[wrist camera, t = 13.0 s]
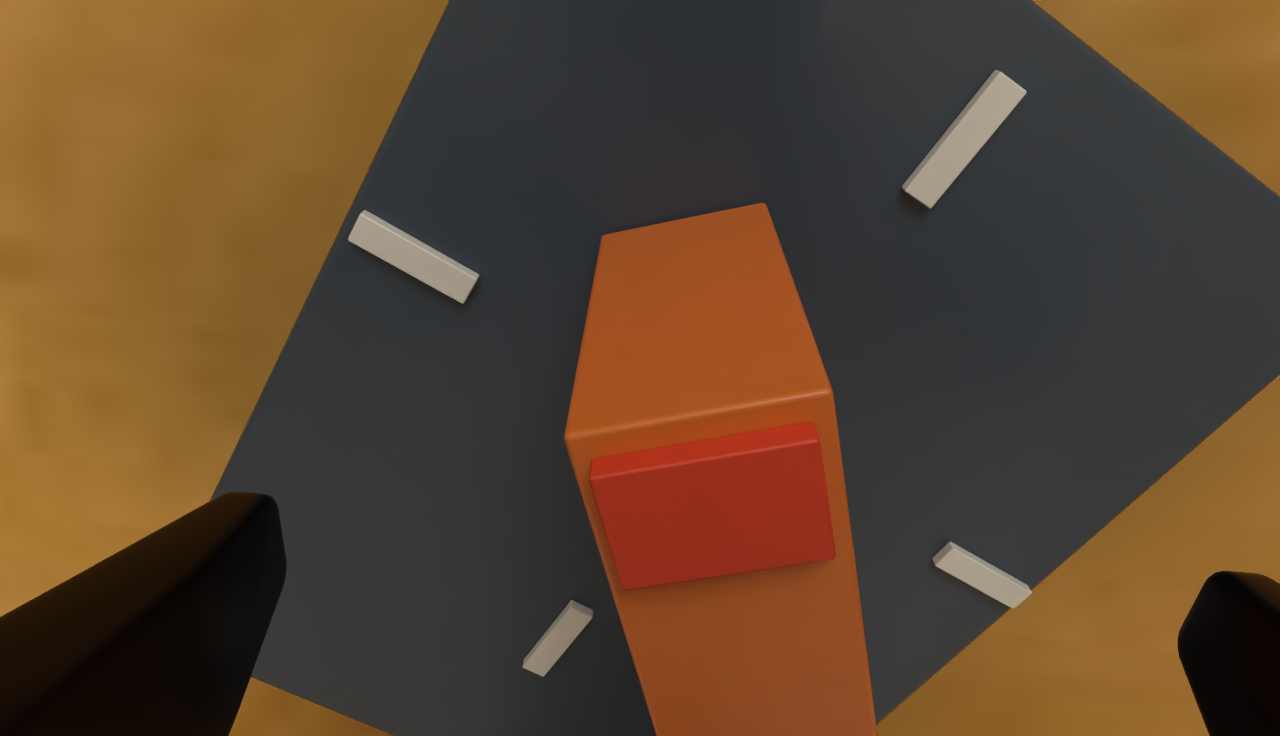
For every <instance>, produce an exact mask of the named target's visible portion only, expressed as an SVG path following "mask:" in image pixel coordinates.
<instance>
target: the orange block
mask: <svg viewBox="0 0 1280 736" xmlns="http://www.w3.org/2000/svg"><path fill="white" fill-rule="evenodd" d="M564 441H565V445H566V448H567V451H568V454H569V457H570V461H571V464H572V467H573V470H574V473H575V477H576V480H577V483H578V486H579V489H580V493H581V496H582V499H583V502H584V505H585V509H586V512H587V515H588V518H589V521H590V525H591V528H592V531H593V534H594V537H595V541H596V544H597V547H598V550H599V553H600V557H601V560H602V563H603V566H604V569H605V573H606V576H607V579H608V582H609V585H610V589H611V592H612V595H613V598H614V601H615V605H616V608H617V611H618V614H619V617H620V621H621V624H622V627H623V630H624V633H625V637H626V640H627V643H628V646H629V649H630V653H631V656H632V659H633V662H634V665H635V669H636V672H637V675H638V678H639V681H640V685H641V688H642V691H643V694H644V697H645V701H646V704H647V707H648V710H649V713H650V717H651V720H652V723H653V726H654V730H655V733H656V736H878V733H877V725H876V717H875V709H874V702H873V694H872V686H871V679H870V671H869V663H868V655H867V648H866V640H865V632H864V625H863V617H862V609H861V602H860V594H859V586H858V578H857V571H856V563H855V555H854V548H853V540H852V532H851V524H850V517H849V509H848V501H847V494H846V486H845V478H844V470H843V463H842V455H841V447H840V440H839V432H838V424H837V416H836V409H835V401H834V393H833V390H832V387H831V384H830V381H829V378H828V376H827V373H826V370H825V367H824V364H823V362H822V359H821V356H820V353H819V350H818V348H817V345H816V342H815V339H814V336H813V334H812V331H811V328H810V325H809V322H808V319H807V317H806V314H805V311H804V308H803V305H802V303H801V300H800V297H799V294H798V291H797V289H796V286H795V283H794V280H793V277H792V275H791V272H790V269H789V266H788V263H787V261H786V258H785V255H784V252H783V249H782V247H781V244H780V241H779V238H778V235H777V233H776V230H775V227H774V224H773V221H772V219H771V216H770V213H769V210H768V207H767V205H766V204H765V203H757V204H753V205H748V206H743V207H738V208H733V209H728V210H723V211H718V212H713V213H708V214H704V215H699V216H694V217H689V218H684V219H679V220H674V221H669V222H664V223H659V224H654V225H650V226H645V227H640V228H635V229H630V230H625V231H620V232H615V233H610V234H605V235H603V236H602V237H601V242H600V247H599V253H598V258H597V263H596V269H595V274H594V279H593V285H592V290H591V295H590V301H589V306H588V311H587V317H586V322H585V327H584V333H583V338H582V343H581V349H580V354H579V359H578V365H577V370H576V375H575V381H574V386H573V391H572V397H571V402H570V407H569V413H568V418H567V423H566V429H565V434H564Z"/></svg>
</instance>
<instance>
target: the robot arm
mask: <svg viewBox="0 0 1280 736" xmlns="http://www.w3.org/2000/svg"><path fill="white" fill-rule="evenodd" d="M286 568H287V562H286V554H285V548H284V541H283V535H282V528H281V521H280V515H279V509H278V505H277V503H276V501H275V499H274V498H273V497H271V496H270V495H268V494H259V493H247V492H228V493H225V494H223V495H221V496H219V497H217V498H215V499H213V500H212V501H210V502H208V503H206V504H204V505H203V506H201V507H199V508H197V509H195V510H193V511H192V512H190V513H188V514H186V515H184V516H183V517H181V518H179V519H177V520H175V521H174V522H172V523H170V524H168V525H166V526H164V527H163V528H161V529H159V530H157V531H155V532H154V533H152V534H150V535H148V536H146V537H145V538H143V539H141V540H139V541H137V542H136V543H134V544H132V545H130V546H128V547H126V548H125V549H123V550H121V551H119V552H117V553H116V554H114V555H112V556H110V557H108V558H107V559H105V560H103V561H101V562H99V563H97V564H96V565H94V566H92V567H90V568H88V569H87V570H85V571H83V572H81V573H79V574H78V575H76V576H74V577H72V578H70V579H69V580H67V581H65V582H63V583H61V584H59V585H58V586H56V587H54V588H52V589H50V590H49V591H47V592H45V593H43V594H41V595H40V596H38V597H36V598H34V599H32V600H30V601H29V602H27V603H25V604H23V605H21V606H20V607H18V608H16V609H14V610H12V611H11V612H9V613H7V614H5V615H3V616H2V617H0V736H229V733H230V731H231V728H232V726H233V723H234V721H235V718H236V715H237V713H238V710H239V708H240V705H241V702H242V699H243V697H244V694H245V691H246V688H247V686H248V683H249V680H250V677H251V674H252V672H253V669H254V666H255V663H256V661H257V658H258V655H259V652H260V650H261V647H262V644H263V641H264V639H265V636H266V633H267V630H268V628H269V625H270V622H271V619H272V616H273V614H274V611H275V608H276V605H277V603H278V600H279V597H280V594H281V592H282V589H283V586H284V582H285V577H286ZM1178 652H1179V657H1180V660H1181V663H1182V665H1183V668H1184V671H1185V673H1186V676H1187V678H1188V681H1189V684H1190V686H1191V689H1192V691H1193V694H1194V697H1195V699H1196V702H1197V704H1198V707H1199V709H1200V712H1201V715H1202V717H1203V720H1204V722H1205V725H1206V728H1207V730H1208V733H1209V735H1210V736H1280V584H1279V583H1278V582H1276V581H1274V580H1272V579H1271V578H1268V577H1266V576H1264V575H1260V574H1255V573H1244V572H1232V571H1220V572H1216V573H1214V574H1213V575H1211V576H1210V577H1209V578H1208V579H1207V580H1206V582H1205V583H1204V585H1203V587H1202V589H1201V591H1200V593H1199V594H1198V596H1197V598H1196V600H1195V602H1194V604H1193V606H1192V608H1191V610H1190V611H1189V613H1188V615H1187V617H1186V619H1185V621H1184V623H1183V625H1182V627H1181V629H1180V631H1179V635H1178Z"/></svg>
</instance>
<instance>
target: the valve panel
mask: <svg viewBox="0 0 1280 736" xmlns="http://www.w3.org/2000/svg"><path fill="white" fill-rule="evenodd" d="M757 203H765V204H766V205H767V207H768V210H769V213H770V216H771V219H772V221H773V224H774V227H775V230H776V233H777V235H778V238H779V241H780V244H781V247H782V249H783V252H784V255H785V258H786V261H787V263H788V266H789V269H790V272H791V275H792V277H793V280H794V283H795V286H796V289H797V291H798V294H799V297H800V300H801V303H802V305H803V308H804V311H805V314H806V317H807V319H808V322H809V325H810V328H811V331H812V334H813V336H814V339H815V342H816V345H817V348H818V350H819V353H820V356H821V359H822V362H823V364H824V367H825V370H826V373H827V376H828V378H829V381H830V384H831V387H832V390H833V393H834V401H835V409H836V416H837V424H838V432H839V440H840V447H841V455H842V463H843V470H844V478H845V486H846V494H847V501H848V509H849V517H850V524H851V532H852V540H853V548H854V555H855V563H856V571H857V578H858V586H859V594H860V602H861V609H862V617H863V625H864V632H865V640H866V648H867V655H868V663H869V671H870V679H871V686H872V694H873V702H874V709H875V717H876V725H877V724H878V723H879V722H880V721H881V720H882V719H884V718H885V717H886V716H887V715H888V714H889V713H890V712H892V711H893V710H894V709H895V708H896V707H897V706H898V705H900V704H901V703H902V702H903V701H904V700H905V699H907V698H908V697H909V696H910V695H911V694H912V693H913V692H915V691H916V690H917V689H918V688H919V687H920V686H922V685H923V684H924V683H925V682H926V681H927V680H928V679H930V678H931V677H932V676H933V675H934V674H935V673H936V672H938V671H939V670H940V669H941V668H942V667H943V666H945V665H946V664H947V663H948V662H949V661H950V660H951V659H953V658H954V657H955V656H956V655H957V654H958V653H959V652H961V651H962V650H963V649H964V648H965V647H966V646H968V645H969V644H970V643H971V642H972V641H973V640H974V639H976V638H977V637H978V636H979V635H980V634H981V633H983V632H984V631H985V630H986V629H987V628H988V627H989V626H991V625H992V624H993V623H994V622H995V621H996V620H997V619H999V618H1000V617H1001V616H1002V615H1003V614H1004V613H1006V612H1007V611H1008V610H1009V609H1010V608H1012V609H1015V608H1016V607H1017V606H1018V605H1019V604H1020V603H1022V602H1023V601H1024V600H1025V599H1026V598H1027V597H1028V596H1030V595H1031V594H1032V592H1031V590H1032V589H1033V588H1034V587H1035V586H1037V585H1038V584H1039V583H1040V582H1041V581H1042V580H1044V579H1045V578H1046V577H1047V576H1048V575H1049V574H1050V573H1052V572H1053V571H1054V570H1055V569H1056V568H1057V567H1058V566H1060V565H1061V564H1062V563H1063V562H1064V561H1065V560H1067V559H1068V558H1069V557H1070V556H1071V555H1072V554H1073V553H1075V552H1076V551H1077V550H1078V549H1079V548H1080V547H1082V546H1083V545H1084V544H1085V543H1086V542H1087V541H1088V540H1090V539H1091V538H1092V537H1093V536H1094V535H1095V534H1096V533H1098V532H1099V531H1100V530H1101V529H1102V528H1103V527H1105V526H1106V525H1107V524H1108V523H1109V522H1110V521H1111V520H1113V519H1114V518H1115V517H1116V516H1117V515H1118V514H1119V513H1121V512H1122V511H1123V510H1124V509H1125V508H1126V507H1128V506H1129V505H1130V504H1131V503H1132V502H1133V501H1134V500H1136V499H1137V498H1138V497H1139V496H1140V495H1141V494H1143V493H1144V492H1145V491H1146V490H1147V489H1148V488H1149V487H1151V486H1152V485H1153V484H1154V483H1155V482H1156V481H1157V480H1159V479H1160V478H1161V477H1162V476H1163V475H1164V474H1166V473H1167V472H1168V471H1169V470H1170V469H1171V468H1172V467H1174V466H1175V465H1176V464H1177V463H1178V462H1179V461H1181V460H1182V459H1183V458H1184V457H1185V456H1186V455H1187V454H1189V453H1190V452H1191V451H1192V450H1193V449H1194V448H1195V447H1197V446H1198V445H1199V444H1200V443H1201V442H1202V441H1204V440H1205V439H1206V438H1207V437H1208V436H1209V435H1210V434H1212V433H1213V432H1214V431H1215V430H1216V429H1217V428H1218V427H1220V426H1221V425H1222V424H1223V423H1224V422H1225V421H1227V420H1228V419H1229V418H1230V417H1231V416H1232V415H1233V414H1235V413H1236V412H1237V411H1238V410H1239V409H1240V408H1242V407H1243V406H1244V405H1245V404H1246V403H1247V402H1248V401H1250V400H1251V399H1252V398H1253V397H1254V396H1255V395H1256V394H1258V393H1259V392H1260V391H1261V390H1262V389H1263V388H1265V387H1266V386H1267V385H1268V384H1269V383H1270V382H1271V381H1273V380H1274V379H1275V378H1276V377H1277V376H1278V375H1279V374H1280V196H1278V195H1277V194H1276V193H1275V192H1273V191H1272V190H1271V189H1270V188H1268V187H1267V186H1266V185H1265V184H1263V183H1262V182H1261V181H1259V180H1258V179H1257V178H1256V177H1254V176H1253V175H1252V174H1251V173H1249V172H1248V171H1247V170H1246V169H1244V168H1243V167H1242V166H1240V165H1239V164H1238V163H1237V162H1235V161H1234V160H1233V159H1232V158H1230V157H1229V156H1228V155H1227V154H1225V153H1224V152H1223V151H1221V150H1220V149H1219V148H1218V147H1216V146H1215V145H1214V144H1213V143H1211V142H1210V141H1209V140H1208V139H1206V138H1205V137H1204V136H1202V135H1201V134H1200V133H1199V132H1197V131H1196V130H1195V129H1194V128H1192V127H1191V126H1190V125H1189V124H1187V123H1186V122H1185V121H1183V120H1182V119H1181V118H1180V117H1178V116H1177V115H1176V114H1175V113H1173V112H1172V111H1171V110H1170V109H1168V108H1167V107H1166V106H1164V105H1163V104H1162V103H1161V102H1159V101H1158V100H1157V99H1156V98H1154V97H1153V96H1152V95H1151V94H1149V93H1148V92H1147V91H1145V90H1144V89H1143V88H1142V87H1140V86H1139V85H1138V84H1137V83H1135V82H1134V81H1133V80H1132V79H1130V78H1129V77H1128V76H1126V75H1125V74H1124V73H1123V72H1121V71H1120V70H1119V69H1118V68H1116V67H1115V66H1114V65H1113V64H1111V63H1110V62H1109V61H1107V60H1106V59H1105V58H1104V57H1102V56H1101V55H1100V54H1099V53H1097V52H1096V51H1095V50H1094V49H1092V48H1091V47H1090V46H1088V45H1087V44H1086V43H1085V42H1083V41H1082V40H1081V39H1080V38H1078V37H1077V36H1076V35H1075V34H1073V33H1072V32H1071V31H1069V30H1068V29H1067V28H1066V27H1064V26H1063V25H1062V24H1061V23H1059V22H1058V21H1057V20H1056V19H1054V18H1053V17H1052V16H1050V15H1049V14H1048V13H1047V12H1045V11H1044V10H1043V9H1042V8H1040V7H1039V6H1038V5H1037V4H1035V3H1034V2H1033V1H1031V0H449V2H448V4H447V6H446V9H445V11H444V13H443V15H442V17H441V19H440V21H439V23H438V25H437V27H436V29H435V32H434V34H433V36H432V38H431V40H430V42H429V44H428V46H427V48H426V50H425V52H424V55H423V57H422V59H421V61H420V63H419V65H418V67H417V69H416V71H415V73H414V75H413V78H412V80H411V82H410V84H409V86H408V88H407V90H406V92H405V94H404V96H403V98H402V101H401V103H400V105H399V107H398V109H397V111H396V113H395V115H394V117H393V119H392V121H391V124H390V126H389V128H388V130H387V132H386V134H385V136H384V138H383V140H382V142H381V144H380V147H379V149H378V151H377V153H376V155H375V157H374V159H373V161H372V163H371V165H370V167H369V169H368V172H367V174H366V176H365V178H364V180H363V182H362V184H361V186H360V188H359V190H358V192H357V195H356V197H355V199H354V201H353V203H352V205H351V207H350V209H349V211H348V213H347V215H346V218H345V220H344V222H343V224H342V226H341V228H340V230H339V232H338V234H337V236H336V238H335V241H334V243H333V245H332V247H331V249H330V251H329V253H328V255H327V257H326V259H325V261H324V264H323V266H322V268H321V270H320V272H319V274H318V276H317V278H316V280H315V282H314V284H313V287H312V289H311V291H310V293H309V295H308V297H307V299H306V301H305V303H304V305H303V307H302V309H301V312H300V314H299V316H298V318H297V320H296V322H295V324H294V326H293V328H292V330H291V332H290V335H289V337H288V339H287V341H286V343H285V345H284V347H283V349H282V351H281V353H280V355H279V358H278V360H277V362H276V364H275V366H274V368H273V370H272V372H271V374H270V376H269V378H268V381H267V383H266V385H265V387H264V389H263V391H262V393H261V395H260V397H259V399H258V401H257V404H256V406H255V408H254V410H253V412H252V414H251V416H250V418H249V420H248V422H247V424H246V427H245V429H244V431H243V433H242V435H241V437H240V439H239V441H238V443H237V445H236V447H235V449H234V452H233V454H232V456H231V458H230V460H229V462H228V464H227V466H226V468H225V470H224V472H223V475H222V477H221V479H220V481H219V483H218V485H217V487H216V489H215V491H214V493H213V495H212V498H211V500H210V501H212V500H213V499H215V498H217V497H219V496H221V495H223V494H225V493H228V492H247V493H259V494H268V495H270V496H271V497H273V498H274V499H275V501H276V503H277V505H278V509H279V515H280V521H281V528H282V535H283V541H284V548H285V554H286V562H287V568H286V577H285V582H284V586H283V589H282V592H281V594H280V597H279V600H278V603H277V605H276V608H275V611H274V614H273V616H272V619H271V622H270V625H269V628H268V630H267V633H266V636H265V639H264V641H263V644H262V647H261V650H260V652H259V655H258V658H257V661H256V663H255V666H254V669H253V672H252V674H251V677H253V678H255V679H258V680H260V681H262V682H265V683H267V684H270V685H272V686H275V687H277V688H279V689H282V690H284V691H287V692H289V693H292V694H294V695H297V696H299V697H301V698H304V699H306V700H309V701H311V702H314V703H316V704H318V705H321V706H323V707H326V708H328V709H331V710H333V711H335V712H338V713H340V714H343V715H345V716H348V717H350V718H353V719H355V720H357V721H360V722H362V723H365V724H367V725H370V726H372V727H374V728H377V729H379V730H382V731H384V732H387V733H389V734H392V735H394V736H656V733H655V730H654V726H653V723H652V720H651V717H650V713H649V710H648V707H647V704H646V701H645V697H644V694H643V691H642V688H641V685H640V681H639V678H638V675H637V672H636V669H635V665H634V662H633V659H632V656H631V653H630V649H629V646H628V643H627V640H626V637H625V633H624V630H623V627H622V624H621V621H620V617H619V614H618V611H617V608H616V605H615V601H614V598H613V595H612V592H611V589H610V585H609V582H608V579H607V576H606V573H605V569H604V566H603V563H602V560H601V557H600V553H599V550H598V547H597V544H596V541H595V537H594V534H593V531H592V528H591V525H590V521H589V518H588V515H587V512H586V509H585V505H584V502H583V499H582V496H581V493H580V489H579V486H578V483H577V480H576V477H575V473H574V470H573V467H572V464H571V461H570V457H569V454H568V451H567V448H566V445H565V441H564V434H565V429H566V423H567V418H568V413H569V407H570V402H571V397H572V391H573V386H574V381H575V375H576V370H577V365H578V359H579V354H580V349H581V343H582V338H583V333H584V327H585V322H586V317H587V311H588V306H589V301H590V295H591V290H592V285H593V279H594V274H595V269H596V263H597V258H598V253H599V247H600V242H601V237H602V236H603V235H605V234H610V233H615V232H620V231H625V230H630V229H635V228H640V227H645V226H650V225H654V224H659V223H664V222H669V221H674V220H679V219H684V218H689V217H694V216H699V215H704V214H708V213H713V212H718V211H723V210H728V209H733V208H738V207H743V206H748V205H753V204H757Z"/></svg>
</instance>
